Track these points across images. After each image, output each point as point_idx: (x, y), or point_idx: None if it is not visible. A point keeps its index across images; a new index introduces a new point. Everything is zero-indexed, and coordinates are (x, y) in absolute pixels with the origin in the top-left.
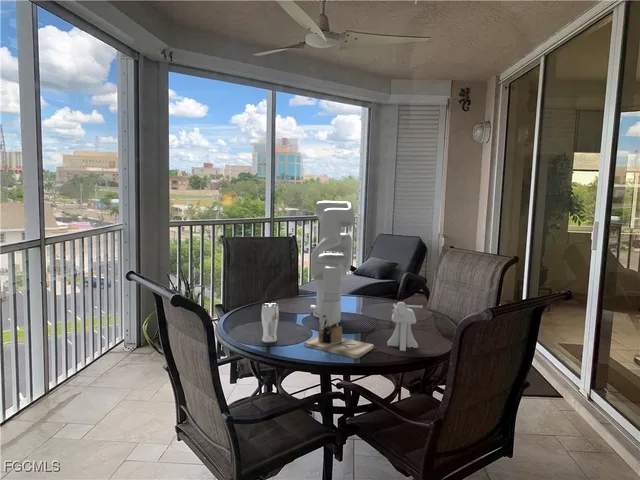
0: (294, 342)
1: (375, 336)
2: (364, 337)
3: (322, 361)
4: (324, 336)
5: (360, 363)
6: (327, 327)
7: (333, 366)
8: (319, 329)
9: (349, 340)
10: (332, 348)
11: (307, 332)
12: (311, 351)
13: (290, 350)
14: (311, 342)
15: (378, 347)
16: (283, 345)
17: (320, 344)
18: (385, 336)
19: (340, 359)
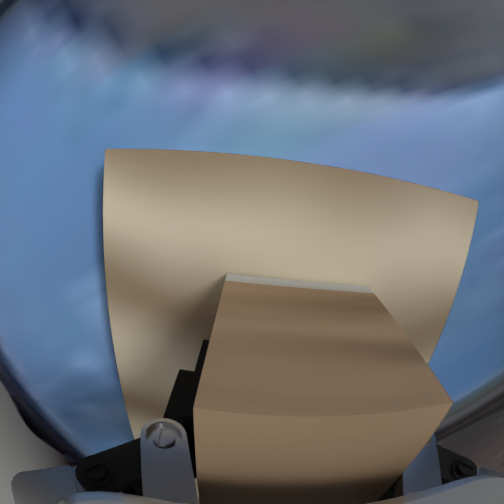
0: (170, 22)
1: (486, 434)
2: (477, 418)
3: (18, 378)
4: (169, 404)
5: None
6: (226, 499)
7: (26, 419)
8: (203, 376)
9: None
10: (134, 422)
11: (483, 42)
12: (59, 276)
13: (4, 129)
14: (139, 225)
15: None
16: (66, 14)
17: (144, 330)
18: (484, 451)
19: (94, 441)
